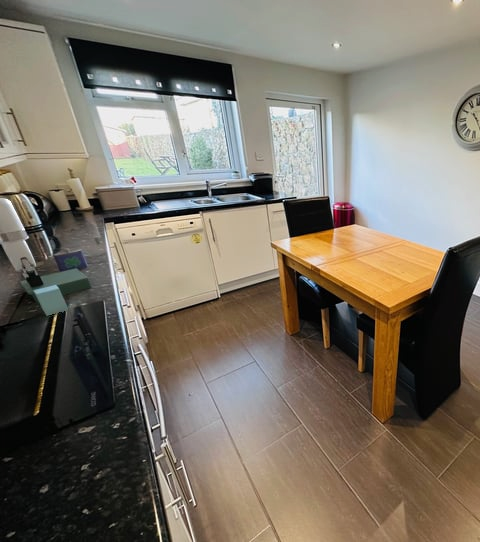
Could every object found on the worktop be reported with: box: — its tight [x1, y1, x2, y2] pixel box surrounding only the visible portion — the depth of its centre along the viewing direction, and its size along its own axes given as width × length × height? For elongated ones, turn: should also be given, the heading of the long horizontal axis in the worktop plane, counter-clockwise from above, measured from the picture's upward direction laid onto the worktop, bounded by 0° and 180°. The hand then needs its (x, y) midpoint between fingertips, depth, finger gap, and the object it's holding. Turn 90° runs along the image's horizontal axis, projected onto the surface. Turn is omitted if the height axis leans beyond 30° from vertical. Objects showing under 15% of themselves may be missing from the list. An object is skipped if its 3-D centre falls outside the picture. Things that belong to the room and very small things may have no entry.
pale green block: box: [33, 285, 70, 317], centre depth 93 cm, size 5×4×8 cm
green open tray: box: [30, 279, 92, 304], centre depth 107 cm, size 15×15×4 cm
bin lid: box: [19, 269, 89, 296], centre depth 105 cm, size 16×15×5 cm
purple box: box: [53, 247, 89, 272], centre depth 123 cm, size 9×3×11 cm, turn 148°
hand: (35, 283), depth 102 cm, fingers closed on bin lid, 5 cm apart
